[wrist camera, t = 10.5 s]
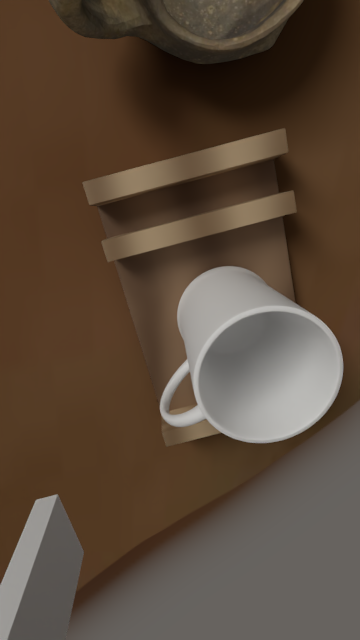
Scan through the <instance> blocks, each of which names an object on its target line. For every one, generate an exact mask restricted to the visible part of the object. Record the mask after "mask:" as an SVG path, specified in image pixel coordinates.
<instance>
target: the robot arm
mask: <svg viewBox="0 0 360 640" xmlns="http://www.w3.org/2000/svg"><path fill="white" fill-rule="evenodd" d="M83 554H84V551H83V549H82V547H81V545H80V542H79V540H78V538H77V536H76V534H75V531H74V529H73V527H72V525H71V523H70V520H69V518H68V516H67V514H66V512H65V509H64V507H63V505H62V503H61V501H60V498H59V496H58V494H57V495H54V496H50V497H46V498H42V499H38V500H36V501H35V504H34V506H33V508H32V511H31V513H30V516H29V518H28V520H27V523H26V525H25V528H24V530H23V532H22V535H21V537H20V540H19V542H18V544H17V547H16V549H15V552H14V554H13V556H12V559H11V561H10V564H9V566H8V568H7V571H6V573H5V576H4V578H3V580H2V583H1V585H0V640H65V639H66V634H67V630H68V625H69V621H70V616H71V611H72V606H73V601H74V597H75V592H76V587H77V582H78V578H79V573H80V568H81V563H82V559H83Z"/></svg>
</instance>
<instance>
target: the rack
mask: <svg viewBox="0 0 360 640" xmlns="http://www.w3.org/2000/svg"><path fill="white" fill-rule="evenodd" d="M286 153H288V145H287V138H286V131H285V128H283V129H279V130H275V131H272V132H268V133H264V134H261V135H257V136H253V137H249V138H246V139H242V140H238V141H234V142H231V143H227V144H223V145H219V146H216V147H212V148H208V149H205V150H201V151H197V152H193V153H190V154H186V155H182V156H178V157H175V158H171V159H167V160H164V161H160V162H156V163H152V164H149V165H145V166H141V167H137V168H134V169H130V170H126V171H123V172H119V173H115V174H111V175H108V176H104V177H100V178H96V179H93V180H89V181H85V182H82V183H83V186H84V189H85V192H86V196H87V199H88V202H89V205H92V206H97V207H98V210H99V214H100V217H101V220H102V223H103V226H104V230H105V233H106V236H107V239H105V240H103V241H101V243H102V246H103V249H104V252H105V255H106V258H107V262H110V261H113V260H114V262H115V265H116V268H117V271H118V275H119V278H120V281H121V284H122V287H123V291H124V294H125V297H126V300H127V303H128V307H129V310H130V313H131V316H132V319H133V323H134V326H135V329H136V332H137V336H138V339H139V342H140V345H141V348H142V352H143V355H144V358H145V361H146V364H147V368H148V371H149V374H150V377H151V380H152V384H153V387H154V390H155V393H156V396H157V400H158V403H159V406H160V401H161V397H162V394H163V392H164V390H165V388H166V386H167V384H168V382H169V381H170V379H171V378H172V376H173V375H174V373H175V372H176V371H177V370H178V368H179V367H180V366H181V365H182V364H183V363H184V362H185V361H186V360H187V354H186V349H185V344H184V340H183V338H182V336H181V334H180V331H179V328H178V322H177V311H178V305H179V302H180V299H181V297H182V295H183V293H184V291H185V289H186V288H187V287H188V285H189V284H190V283H191V282H192V281H193V280H194V279H195V278H197V277H198V276H199V275H201V274H202V273H204V272H206V271H208V270H211V269H213V268H217V267H222V266H236V267H241V268H245V269H247V270H250V271H252V272H254V273H255V274H257V275H258V276H259V277H261V278H262V279H263V280H264V281H265V282H266V284H267V285H268V286H270V287H271V288H273V289H274V290H276V291H277V292H279V293H280V294H282V295H284V296H285V297H287V298H288V299H290V300H291V301H293V302H294V303H295V296H294V290H293V283H292V276H291V270H290V263H289V256H288V250H287V243H286V236H285V230H284V223H283V216H284V215H288V214H292V213H295V212H297V211H296V204H295V197H294V190H293V191H288V192H282V193H279V190H278V183H277V176H276V170H275V163H274V159H275V158H277V157H279V156H281V155H284V154H286ZM197 405H198V404H197V401H196V398H195V395H194V390H193V385H192V380H191V375H190V372H189V373H188V374H187V375H186V376H185V378H184V379H183V380H182V381H181V383H180V384H179V386H178V387H177V389H176V391H175V392H174V394H173V396H172V399H171V402H170V406H169V413H170V414H171V415H178V414H182V413H184V412H187V411H189V410H191V409H192V408H194V407H195V406H197ZM218 433H222V432H220V431H219V430H217V429H216V428H215V427H214V426H212V425H211V424H210V423H209V421H208V420H207V419H205V420H203V421H201V422H199V423H196V424H194V425H191V426H187V427H175V426H172V425H170V424H168V423H167V422H166V421H165V420H164V419H163V417H162V434H163V438H164V441H165V444H166V447H167V446H171V445H175V444H179V443H183V442H187V441H191V440H195V439H199V438H203V437H206V436H210V435H214V434H218Z"/></svg>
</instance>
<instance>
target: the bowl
mask: <svg viewBox="0 0 360 640" xmlns="http://www.w3.org/2000/svg"><path fill="white" fill-rule="evenodd" d="M303 1H304V0H49V2H50V3H51V5H52V7H53V9H54V10H55V11H56V13H57V14H58V16H59V17H60V19H61V20H62V21H63V22H64V23H65V24H66V25H67V26H68V27H69V28H70V29H71V30H73V31H74V32H76V33H78V34H80V35H82V36H84V37H90V38H98V39H117V38H121V37H125V36H134V37H139V38H142V39H144V40H146V41H148V42H150V43H152V44H153V45H155V46H157V47H159V48H160V49H162V50H164V51H165V52H167V53H170V54H172V55H174V56H176V57H178V58H181V59H183V60H186V61H190V62H193V63H197V64H214V63H220V62H228V61H233V60H237V59H241V58H244V57H247V56H250V55H253V54H257V53H260V52H263V51H265V50H268V49H270V48H271V47H272V46H273V45H274V43H275V41H276V40H277V38H278V36H279V34H280V33H281V31H282V29H283V28H284V26H285V24H286V22H287V20H288V19H289V17H290V16H291V15H292V14H293V13H294V12H295V11H296V10H297V9H298V7H299V6H300V5H301V4H302V2H303Z"/></svg>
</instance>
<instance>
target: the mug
mask: <svg viewBox="0 0 360 640" xmlns="http://www.w3.org/2000/svg"><path fill="white" fill-rule="evenodd" d="M177 322H178V328H179V331H180V334H181V336H182V338H183V340H184V344H185V349H186V354H187V360H186V361H185V362H184V363H183V364H182V365H181V366H180V367H179V368H178V370H177V371H176V372H175V373H174V375H173V376H172V378H171V379H170V381H169V382H168V384H167V386H166V388H165V390H164V392H163V394H162V397H161V401H160V412H161V415H162V417H163V419H164V420H165V421H166V422H167V423H168V424H170V425H172V426H175V427H187V426H191V425H194V424H196V423H199V422H201V421H203V420H205V419H207V420H208V421H209V423H210V424H211V425H212V426H214V427H215V428H216V429H217V430H219V431H220V432H222V433H223V434H225V435H227V436H229V437H231V438H234V439H237V440H240V441H244V442H250V443H270V442H277V441H281V440H285V439H288V438H290V437H293V436H295V435H297V434H299V433H301V432H303V431H305V430H306V429H308V428H309V427H311V426H312V425H313V424H315V423H316V422H317V421H318V420H319V419H320V418H321V417H322V416H323V415H324V414H325V413H326V412H327V410H328V409H329V408H330V406H331V405H332V403H333V402H334V400H335V398H336V396H337V394H338V391H339V389H340V386H341V382H342V377H343V357H342V352H341V349H340V346H339V343H338V341H337V339H336V337H335V336H334V334H333V333H332V331H331V330H330V329H329V328H328V327H327V326H326V324H324V323H323V322H322V321H321V320H320V319H319V318H317V317H316V316H314V315H313V314H311V313H310V312H308V311H307V310H305V309H304V308H302V307H301V306H299V305H297V304H296V303H294V302H293V301H291V300H290V299H288V298H287V297H285V296H284V295H282V294H280V293H279V292H277V291H276V290H274V289H273V288H271V287H270V286H268V285H267V284H266V282H265V281H264V280H263V279H262V278H261V277H259V276H258V275H257V274H255V273H254V272H252V271H250V270H247V269H245V268H241V267H236V266H222V267H217V268H213V269H211V270H208V271H206V272H204V273H202V274H201V275H199V276H198V277H197V278H195V279H194V280H193V281H192V282H191V283H190V284H189V285H188V287H187V288H186V289H185V291H184V293H183V295H182V297H181V299H180V302H179V305H178V311H177ZM189 372H190V375H191V380H192V385H193V390H194V395H195V398H196V401H197V404H198V405H197V406H195V407H194V408H192V409H191V410H189V411H187V412H184V413H182V414H178V415H171V414H170V413H169V406H170V402H171V399H172V396H173V394H174V392H175V391H176V389H177V387H178V386H179V384H180V383H181V381H182V380H183V379H184V378H185V376H186V375H187V374H188V373H189Z"/></svg>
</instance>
